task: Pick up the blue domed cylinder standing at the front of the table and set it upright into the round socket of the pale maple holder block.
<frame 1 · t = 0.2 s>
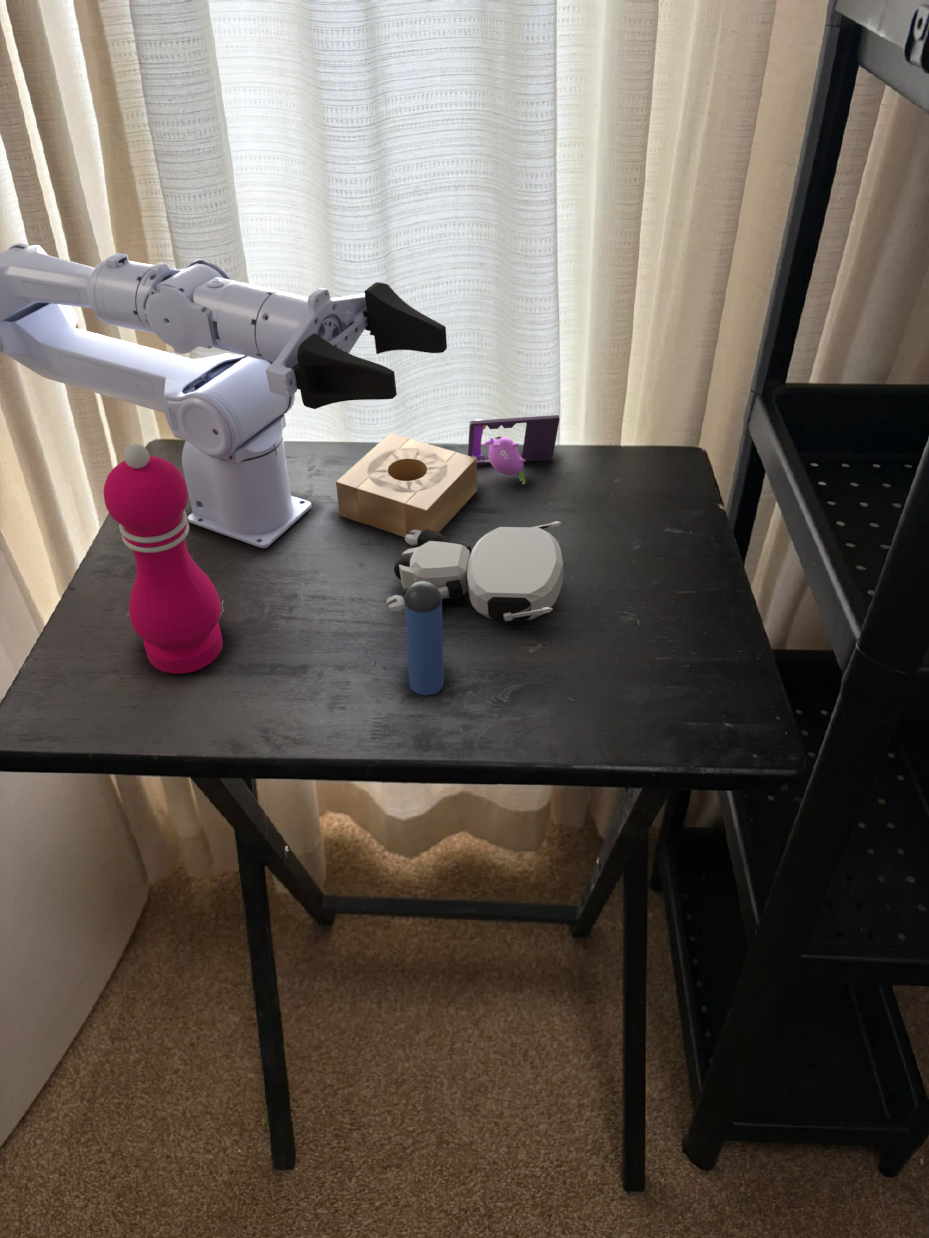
hand: (419, 361, 80), 22 cm above the table, tool horizontal, fingers open, 7 cm apart
blue domed cylinder: (426, 683, 84), on the table
pepper mill: (185, 650, 87), on the table
robot toy: (477, 594, 92), on the table
purple toy with frame: (513, 474, 107), on the table
holder: (409, 503, 103), on the table
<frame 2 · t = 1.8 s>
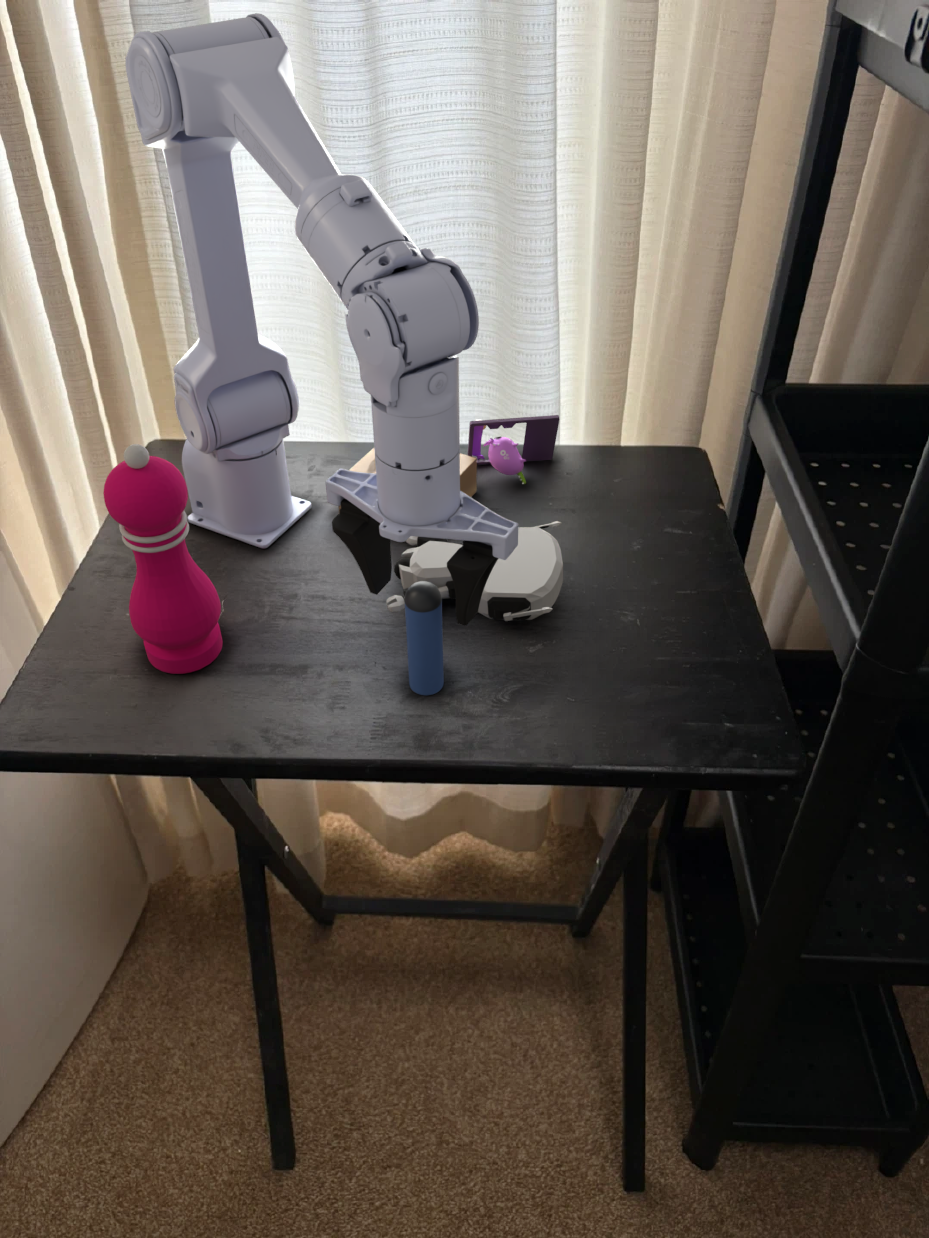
hand: (423, 601, 78), 9 cm above the table, tool pointing down, fingers open, 7 cm apart
nothing on the table moved.
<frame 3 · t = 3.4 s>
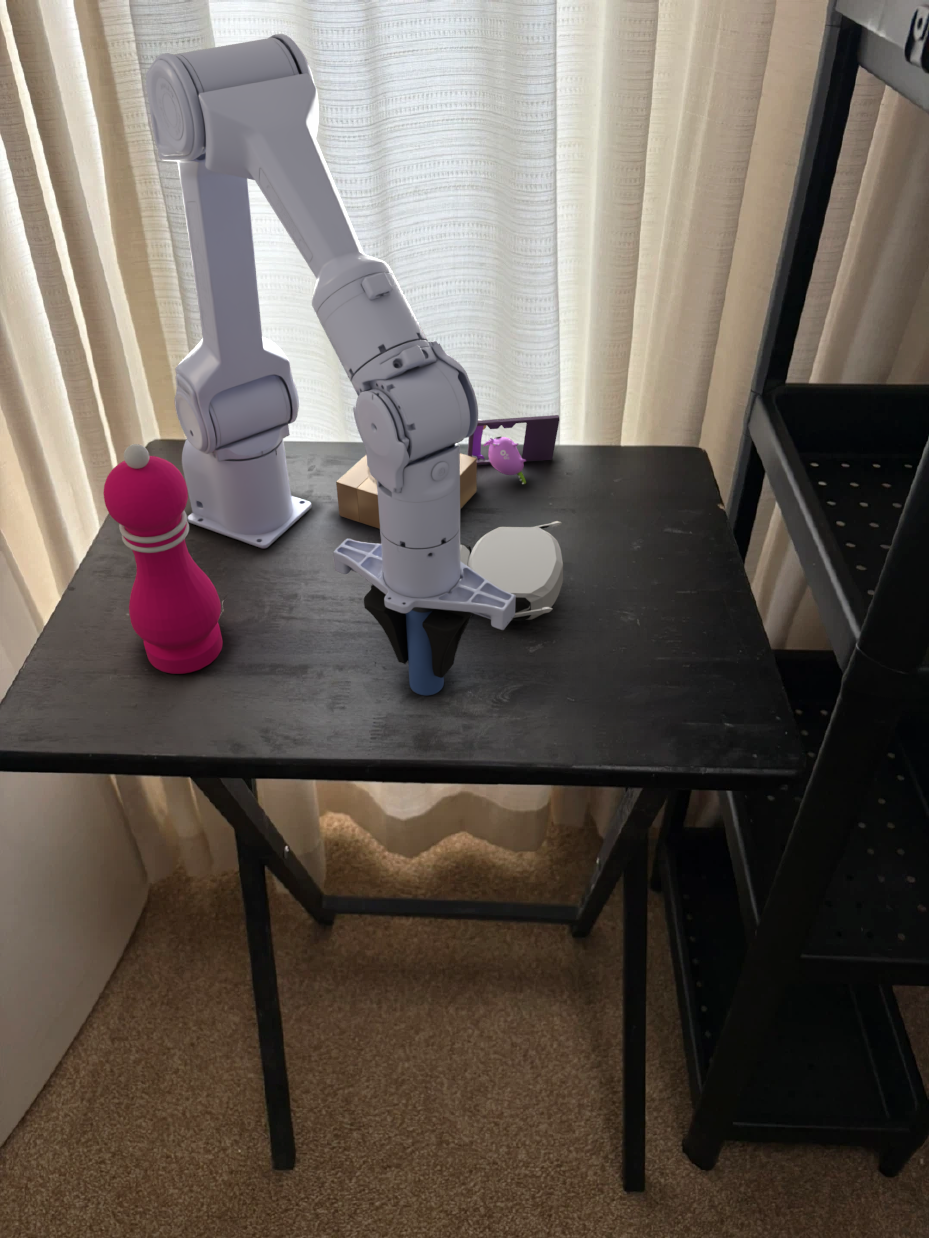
hand: (425, 662, 82), 2 cm above the table, tool pointing down, fingers closed on blue domed cylinder, 3 cm apart
blue domed cylinder: (426, 683, 84), on the table, touching gripper
everything else where it was.
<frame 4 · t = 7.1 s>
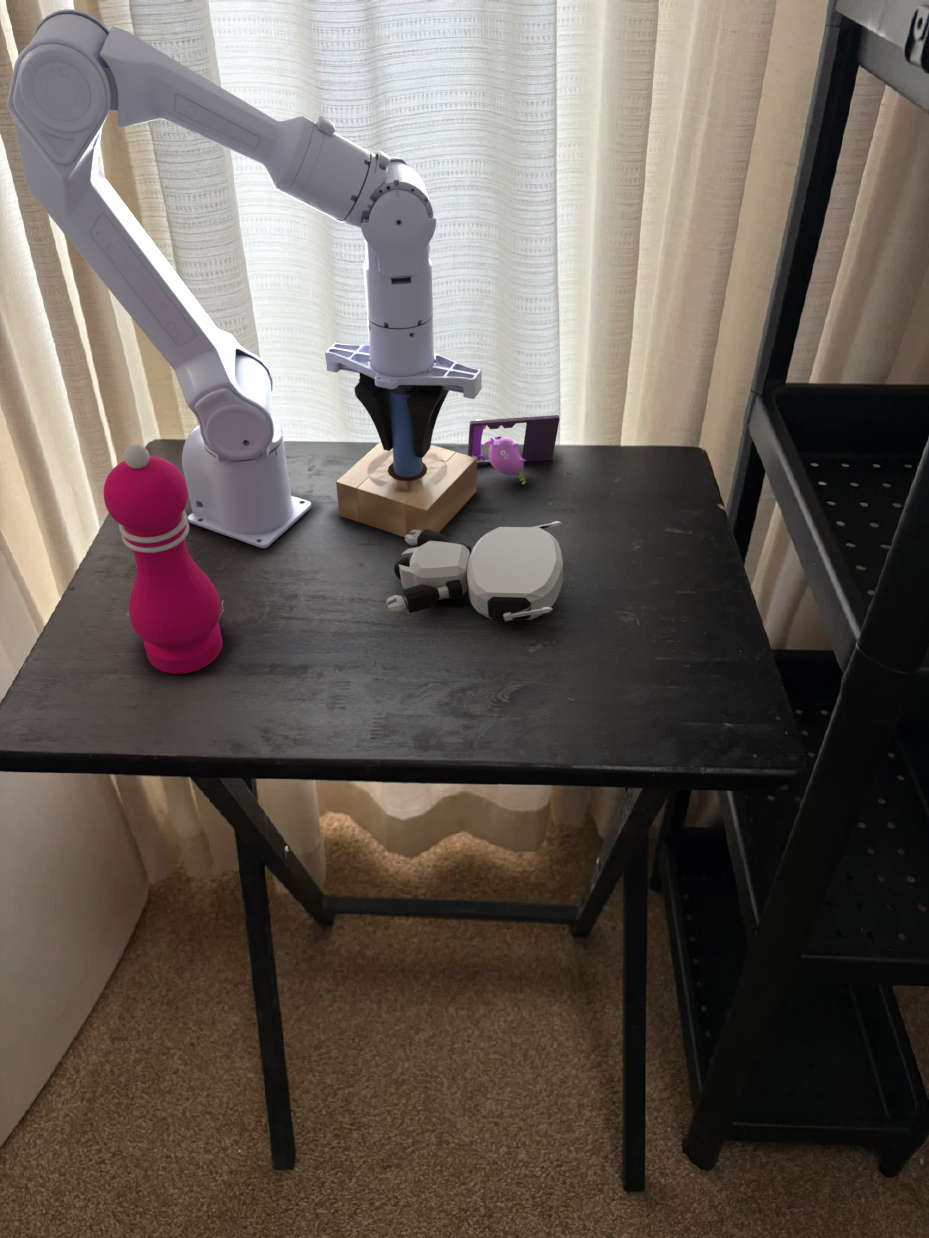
hand: (406, 448, 98), 6 cm above the table, tool pointing down, fingers closed on blue domed cylinder, 3 cm apart
blue domed cylinder: (408, 469, 100), point 4 cm above the table, touching gripper
everything else where it was.
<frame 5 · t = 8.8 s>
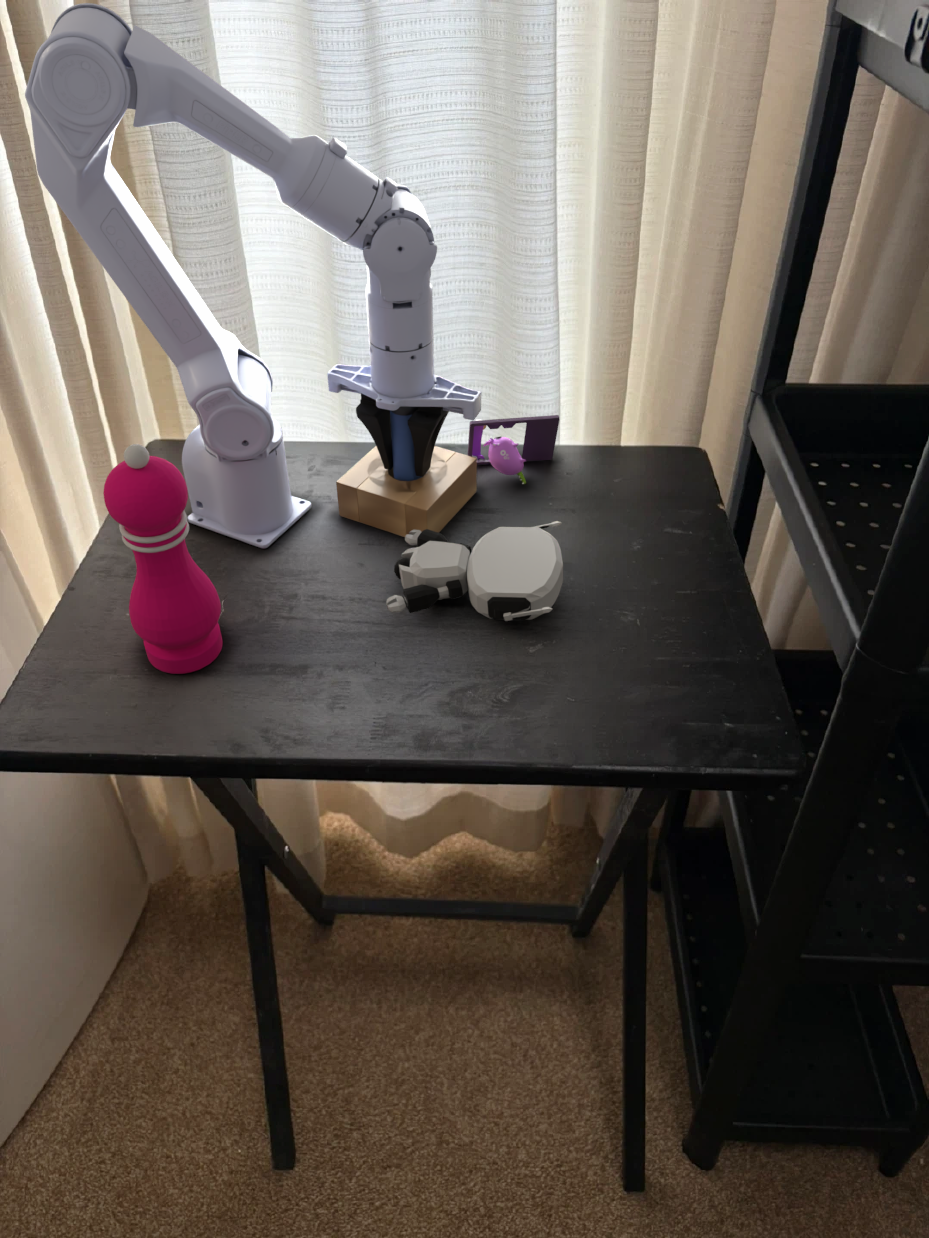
hand: (407, 467, 100), 4 cm above the table, tool pointing down, fingers closed on blue domed cylinder, 3 cm apart
blue domed cylinder: (408, 487, 101), point 2 cm above the table, touching gripper
everything else where it was.
when the fingers open (5 cm above the table, at t = 11.2 s): blue domed cylinder drops 2 cm, resting in holder.
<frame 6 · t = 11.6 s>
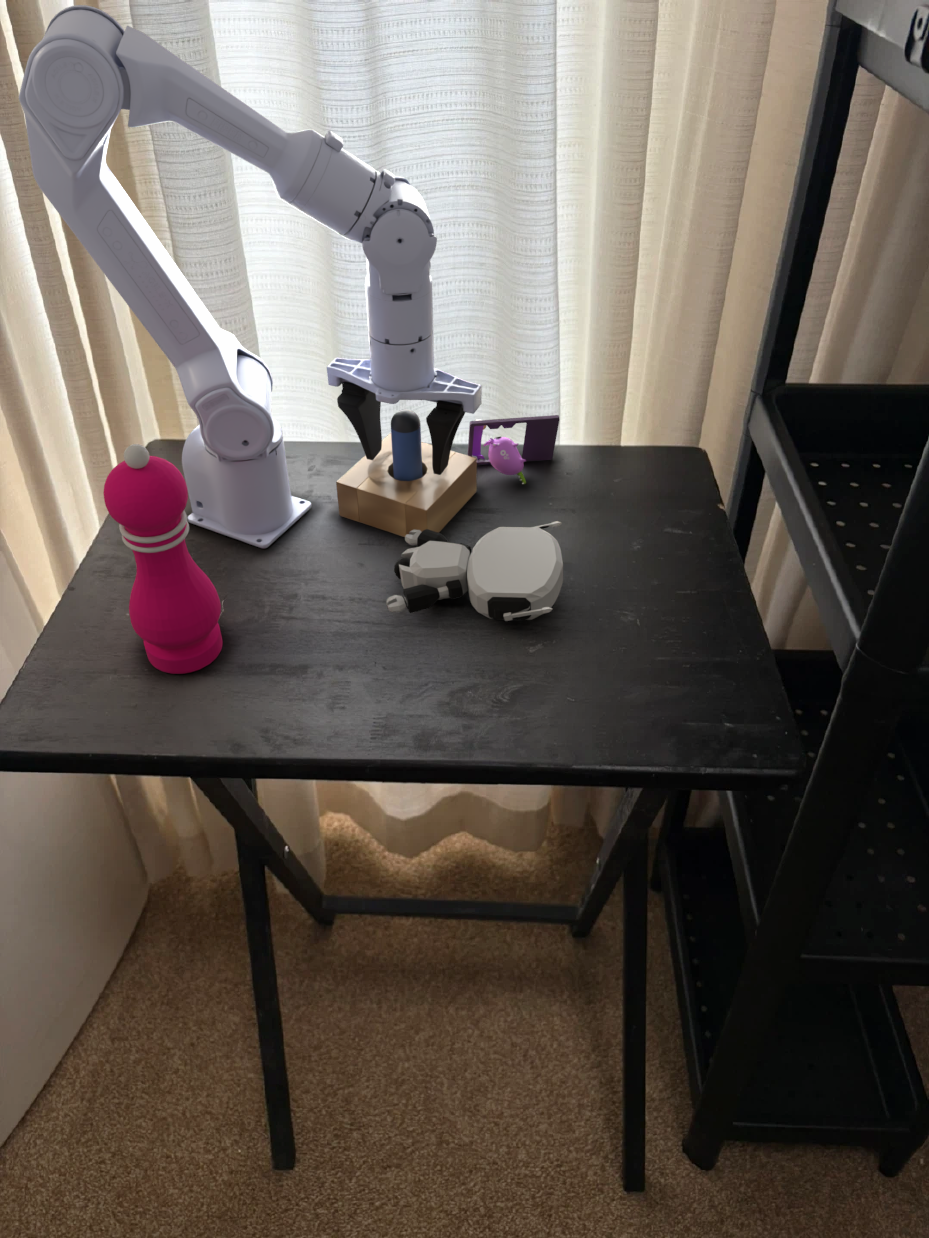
hand: (407, 461, 99), 5 cm above the table, tool pointing down, fingers open, 6 cm apart
blue domed cylinder: (409, 503, 103), resting in holder
everything else where it was.
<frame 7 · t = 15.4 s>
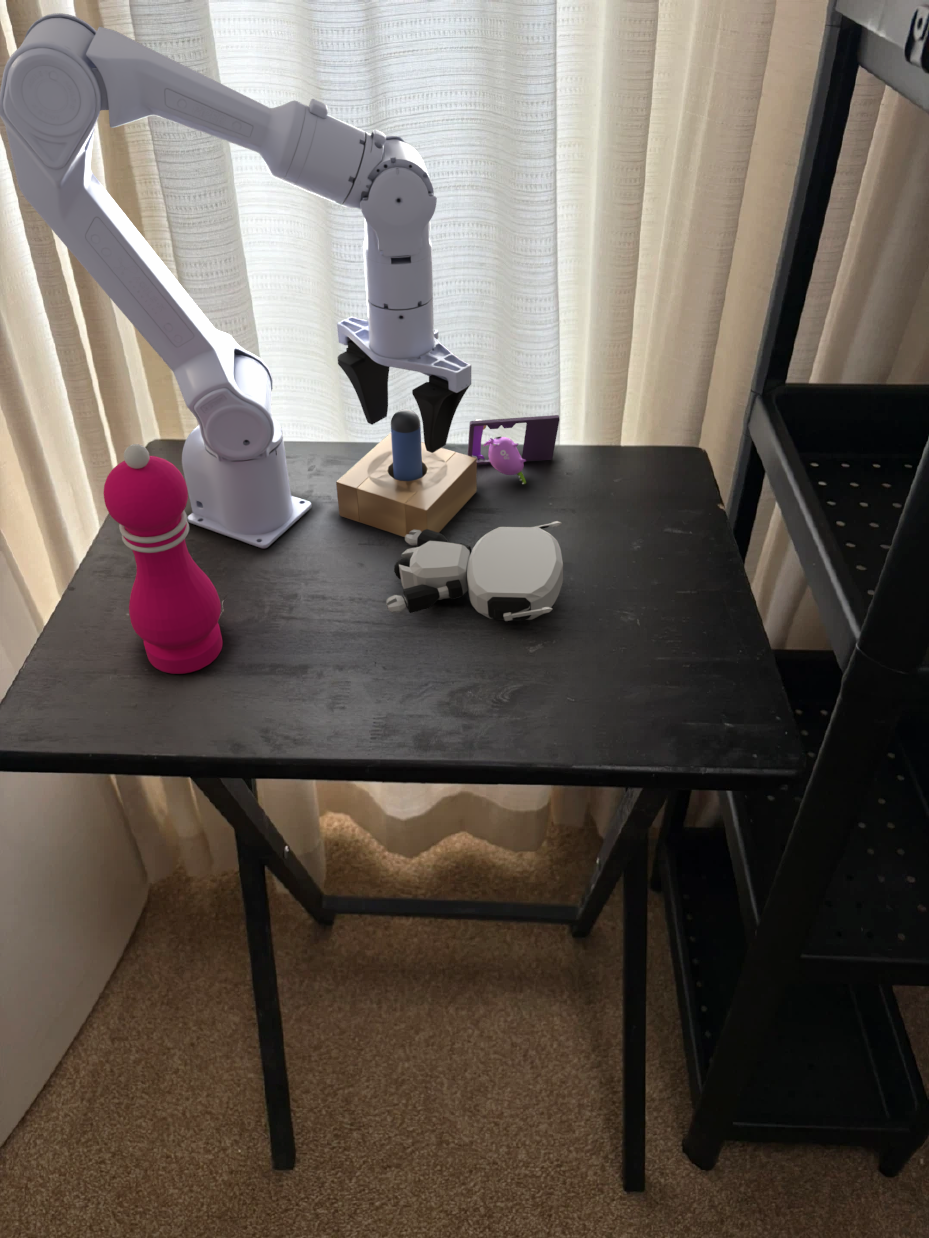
hand: (406, 433, 97), 8 cm above the table, tool pointing down, fingers open, 7 cm apart
nothing on the table moved.
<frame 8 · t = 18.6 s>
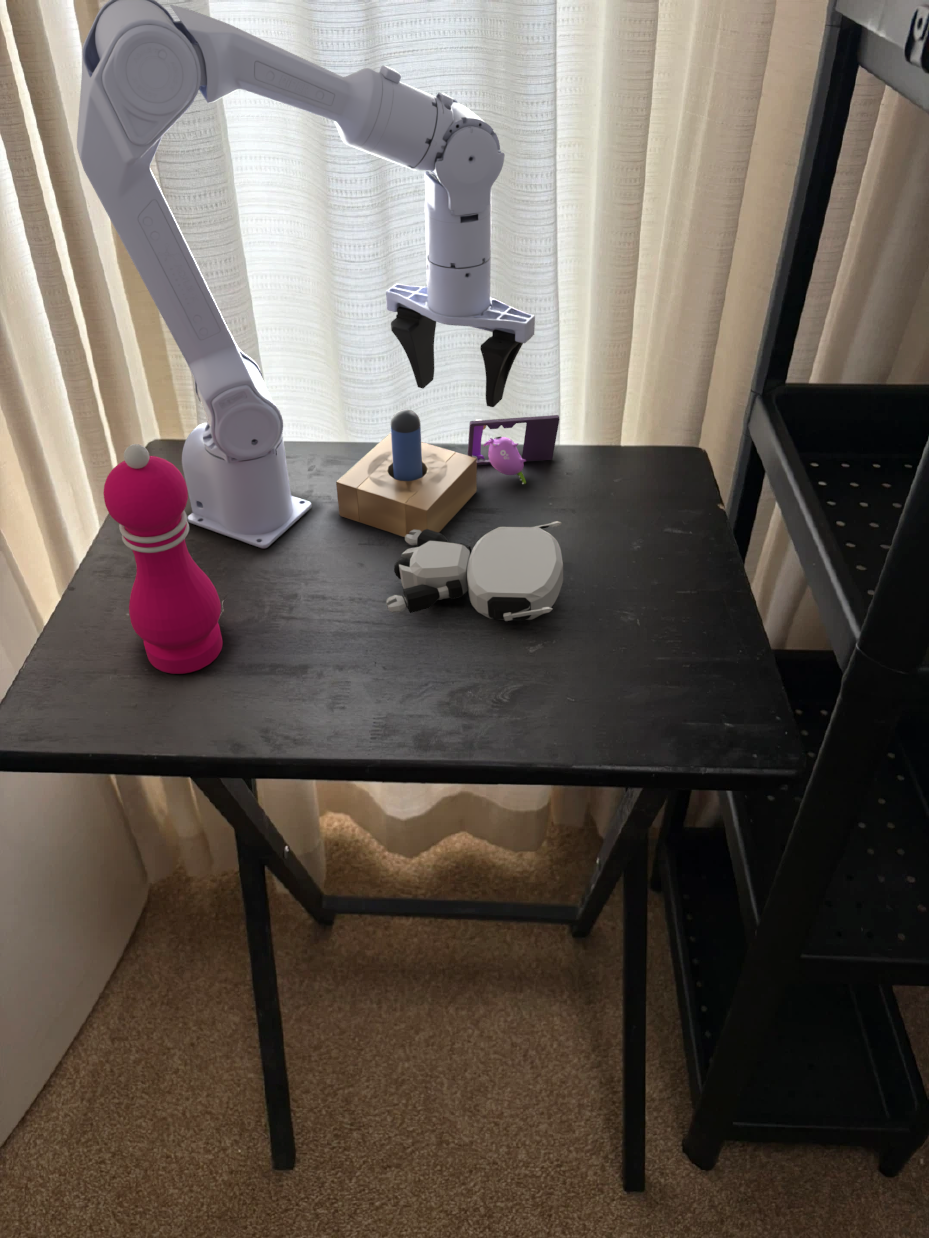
hand: (459, 392, 100), 9 cm above the table, tool pointing down, fingers open, 7 cm apart
nothing on the table moved.
at the end: blue domed cylinder 0.1 cm off-centre in the holder, point 0.0 cm above the holder's base; blue domed cylinder tilted 0°; the gripper is holding nothing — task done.
